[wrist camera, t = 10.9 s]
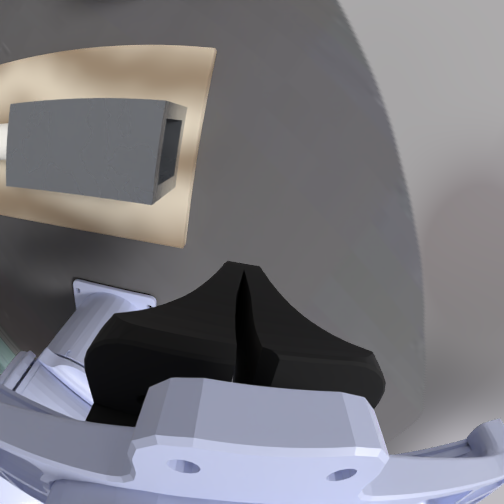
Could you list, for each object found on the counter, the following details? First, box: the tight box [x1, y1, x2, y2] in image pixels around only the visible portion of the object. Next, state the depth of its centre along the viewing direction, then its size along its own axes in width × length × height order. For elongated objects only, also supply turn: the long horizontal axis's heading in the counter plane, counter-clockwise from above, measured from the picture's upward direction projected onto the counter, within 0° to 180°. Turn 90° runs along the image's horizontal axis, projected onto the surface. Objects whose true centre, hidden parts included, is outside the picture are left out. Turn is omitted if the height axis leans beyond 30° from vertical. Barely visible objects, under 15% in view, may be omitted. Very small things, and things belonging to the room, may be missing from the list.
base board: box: [0, 45, 217, 248], centre depth 18 cm, size 14×28×1 cm, turn 80°
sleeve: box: [6, 98, 187, 205], centre depth 16 cm, size 5×11×5 cm, turn 80°
